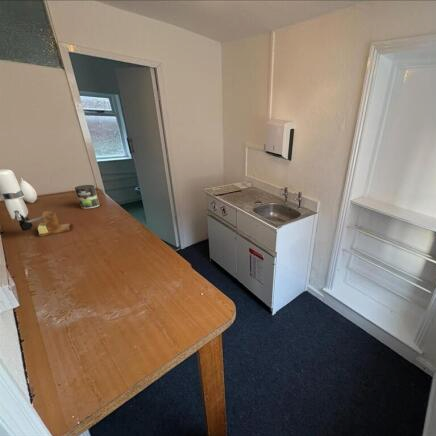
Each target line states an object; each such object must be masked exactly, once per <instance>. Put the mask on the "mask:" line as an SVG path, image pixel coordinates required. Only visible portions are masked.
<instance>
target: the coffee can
mask: <svg viewBox="0 0 436 436" xmlns="http://www.w3.org/2000/svg"><path fill="white" fill-rule="evenodd" d="M74 190H75V193H76V196H77V199H78V202H79V205H80V208H81V209H83V210H84V209H85V210H86V209H94V208H97V207H100V201H99V199H98V198H99V197H98V195H97V191H96V188H95V185H93V184H83V185H78V186H75V187H74Z"/></svg>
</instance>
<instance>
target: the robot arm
mask: <svg viewBox="0 0 436 436" xmlns="http://www.w3.org/2000/svg"><path fill="white" fill-rule="evenodd" d="M19 185H20V183H19V182H18V179H17V177H16V175H15V173H14V171H12V170H11V169H7V168H6V169H5V168H3V169H0V199H1V201H4V204H5V207H6V209H7V212H8V214H9V217H10V218H11V219H12V220H15V219H16V220H17V222H18V225H19V227H20V229H21V231H23V232H25V231H26V232H27V231H30V230H32V228H33V222H30V223H29V222H27V221H28V220H30V217H29V216H28V214H29V209H28V207H27V205H26V202H25V201H24V200H23V199H22V198H23V197H24V194H23V192H22V190H21V188H20V186H19Z"/></svg>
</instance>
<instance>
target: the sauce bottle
mask: <svg viewBox="0 0 436 436" xmlns="http://www.w3.org/2000/svg"><path fill="white" fill-rule="evenodd" d="M20 178H21V181H20V183H19V186H20V188H21V190H22V192H23V194H24V197H23V198H22V199H23V201H24V202H25V203H29V204H32V203H33V204H34V203H35V202H36V201H37V199H38V195H37V194H38V193H37V192H36V190H35V188H34V187H33V186H32V185H31V184H30V183H29V182H27V181H26V180H24V179H23V178H22V177H20Z"/></svg>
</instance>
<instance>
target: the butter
mask: <svg viewBox="0 0 436 436" xmlns="http://www.w3.org/2000/svg"><path fill="white" fill-rule="evenodd" d="M37 231H38V234H39V233H40V234H42V233H47V232H48V228H47V226H46V225H44V226H39V225H38V226H37Z"/></svg>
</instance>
